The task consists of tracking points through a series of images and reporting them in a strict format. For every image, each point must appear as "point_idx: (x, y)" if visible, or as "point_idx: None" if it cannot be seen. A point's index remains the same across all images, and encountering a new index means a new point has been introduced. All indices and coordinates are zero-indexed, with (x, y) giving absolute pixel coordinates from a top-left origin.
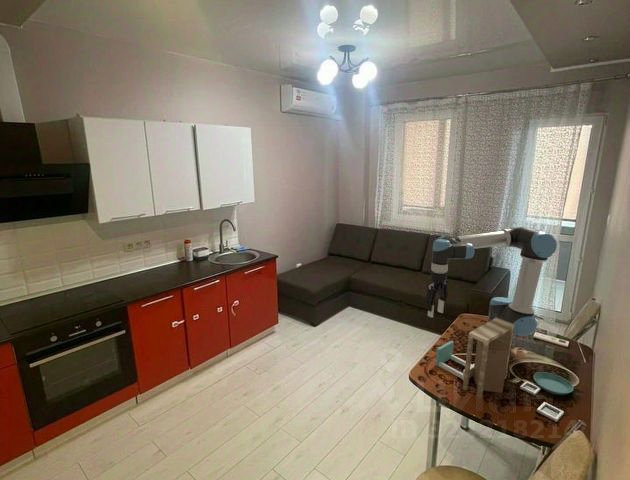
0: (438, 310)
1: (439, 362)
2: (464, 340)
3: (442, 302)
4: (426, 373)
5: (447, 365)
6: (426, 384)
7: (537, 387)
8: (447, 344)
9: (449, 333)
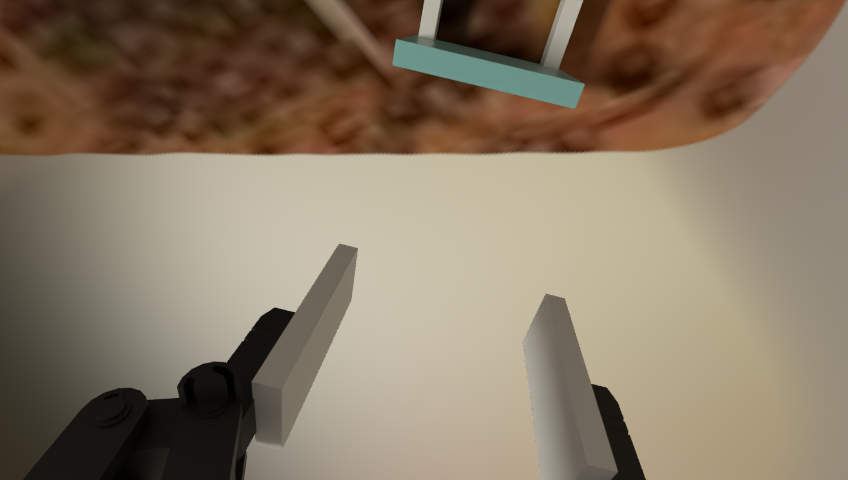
0: (347, 302)
1: (558, 65)
2: (181, 51)
3: (293, 374)
4: (661, 94)
5: (566, 6)
6: (782, 48)
7: None
8: (466, 64)
9: (192, 149)
